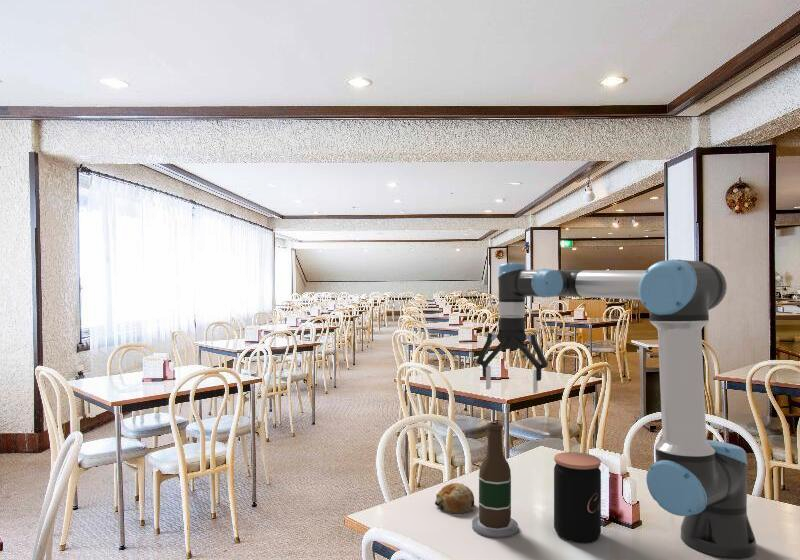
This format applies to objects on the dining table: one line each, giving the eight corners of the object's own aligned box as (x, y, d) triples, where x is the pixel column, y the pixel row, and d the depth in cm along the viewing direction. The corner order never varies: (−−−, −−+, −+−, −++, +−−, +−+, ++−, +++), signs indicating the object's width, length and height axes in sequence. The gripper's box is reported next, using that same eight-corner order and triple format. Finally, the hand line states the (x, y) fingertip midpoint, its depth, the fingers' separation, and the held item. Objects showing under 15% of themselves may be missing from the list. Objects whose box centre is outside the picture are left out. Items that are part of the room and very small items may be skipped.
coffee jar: (594, 548, 129) (594, 468, 129) (548, 537, 135) (548, 460, 135) (605, 531, 138) (605, 456, 138) (561, 521, 144) (561, 449, 144)
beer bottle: (514, 529, 136) (514, 427, 136) (481, 529, 136) (481, 427, 136) (507, 516, 144) (508, 419, 144) (476, 515, 144) (476, 419, 144)
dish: (514, 519, 145) (514, 513, 145) (521, 538, 134) (521, 532, 134) (470, 518, 145) (470, 513, 145) (474, 537, 134) (474, 531, 134)
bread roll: (465, 529, 148) (479, 502, 147) (430, 509, 149) (443, 482, 149) (468, 514, 157) (481, 488, 157) (434, 495, 159) (447, 470, 158)
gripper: (557, 317, 165) (557, 391, 164) (472, 315, 174) (472, 385, 174) (554, 318, 158) (554, 396, 157) (466, 316, 167) (466, 389, 167)
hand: (511, 390), depth 166 cm, fingers open, 13 cm apart
